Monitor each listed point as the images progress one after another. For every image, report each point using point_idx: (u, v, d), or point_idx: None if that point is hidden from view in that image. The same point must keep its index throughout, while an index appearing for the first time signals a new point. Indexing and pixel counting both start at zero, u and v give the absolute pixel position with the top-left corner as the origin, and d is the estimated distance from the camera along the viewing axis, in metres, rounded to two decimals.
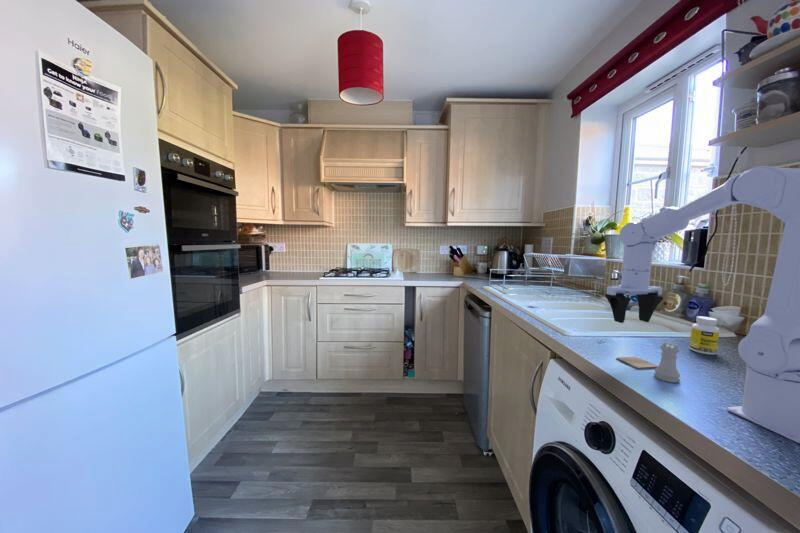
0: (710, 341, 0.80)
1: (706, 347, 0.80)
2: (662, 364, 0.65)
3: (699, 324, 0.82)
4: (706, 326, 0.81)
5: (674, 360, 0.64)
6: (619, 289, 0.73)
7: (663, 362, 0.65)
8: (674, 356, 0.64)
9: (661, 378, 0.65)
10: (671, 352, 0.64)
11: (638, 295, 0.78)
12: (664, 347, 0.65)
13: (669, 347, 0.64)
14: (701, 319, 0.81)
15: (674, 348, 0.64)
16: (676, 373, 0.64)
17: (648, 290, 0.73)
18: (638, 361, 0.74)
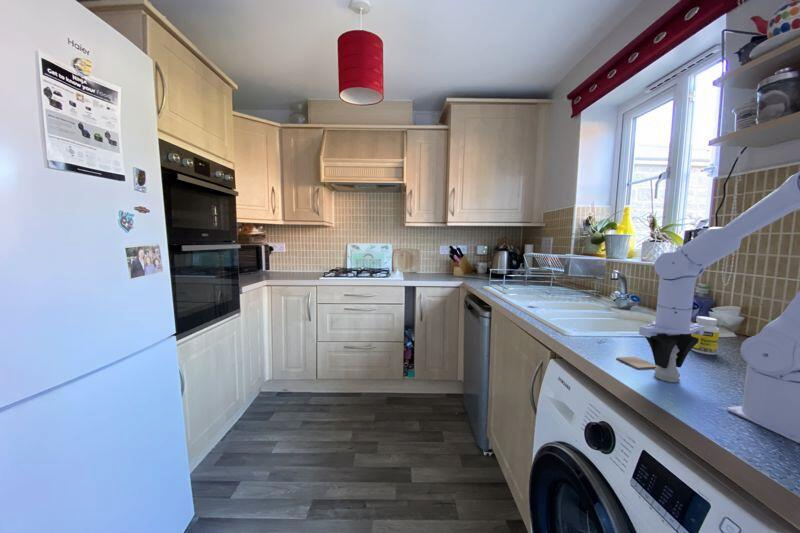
0: (710, 341, 0.80)
1: (706, 347, 0.80)
2: None
3: (699, 324, 0.82)
4: (706, 326, 0.81)
5: (674, 360, 0.64)
6: (655, 330, 0.63)
7: None
8: (674, 356, 0.64)
9: (661, 378, 0.65)
10: (671, 352, 0.64)
11: (667, 334, 0.67)
12: None
13: None
14: (701, 319, 0.81)
15: (674, 348, 0.64)
16: (676, 373, 0.64)
17: (689, 332, 0.62)
18: (638, 361, 0.74)
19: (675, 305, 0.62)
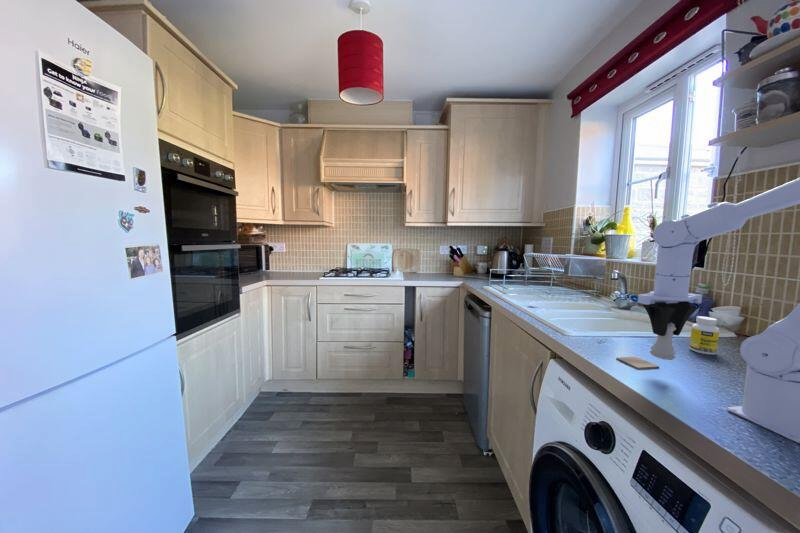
0: (710, 341, 0.80)
1: (706, 347, 0.80)
2: (659, 342, 0.66)
3: (699, 324, 0.82)
4: (706, 326, 0.81)
5: (671, 338, 0.65)
6: (653, 297, 0.63)
7: (660, 340, 0.66)
8: (671, 334, 0.65)
9: (658, 356, 0.66)
10: (668, 330, 0.65)
11: (666, 304, 0.68)
12: None
13: None
14: (701, 319, 0.81)
15: (671, 326, 0.65)
16: (672, 350, 0.65)
17: (688, 299, 0.63)
18: (638, 361, 0.74)
19: (673, 272, 0.63)
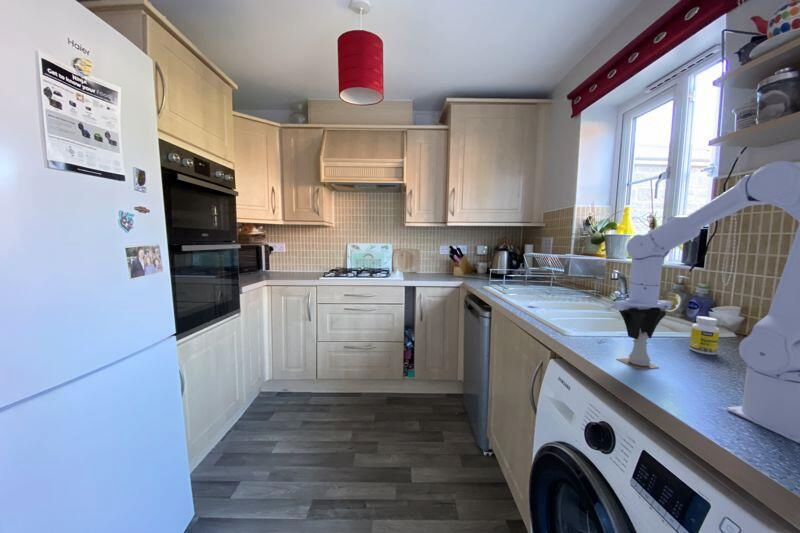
0: (710, 341, 0.80)
1: (706, 347, 0.80)
2: (635, 350, 0.73)
3: (699, 324, 0.82)
4: (706, 326, 0.81)
5: (645, 346, 0.72)
6: (627, 304, 0.70)
7: (636, 348, 0.73)
8: (645, 342, 0.72)
9: (635, 363, 0.72)
10: (642, 338, 0.72)
11: (640, 309, 0.75)
12: None
13: (640, 334, 0.72)
14: (701, 319, 0.81)
15: (644, 335, 0.72)
16: (647, 357, 0.72)
17: (657, 305, 0.70)
18: None
19: (643, 281, 0.70)
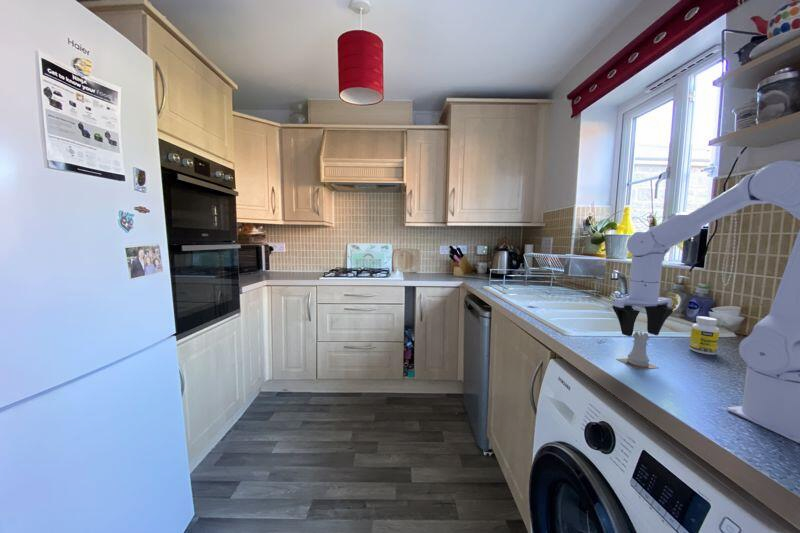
0: (710, 341, 0.80)
1: (706, 347, 0.80)
2: (635, 351, 0.73)
3: (699, 324, 0.82)
4: (706, 326, 0.81)
5: (645, 347, 0.72)
6: (627, 301, 0.70)
7: (635, 349, 0.73)
8: (645, 343, 0.72)
9: (634, 363, 0.72)
10: (643, 340, 0.71)
11: (646, 307, 0.75)
12: (637, 335, 0.72)
13: (641, 335, 0.72)
14: (701, 319, 0.81)
15: (645, 336, 0.71)
16: (646, 358, 0.72)
17: (657, 302, 0.70)
18: None
19: (643, 278, 0.70)
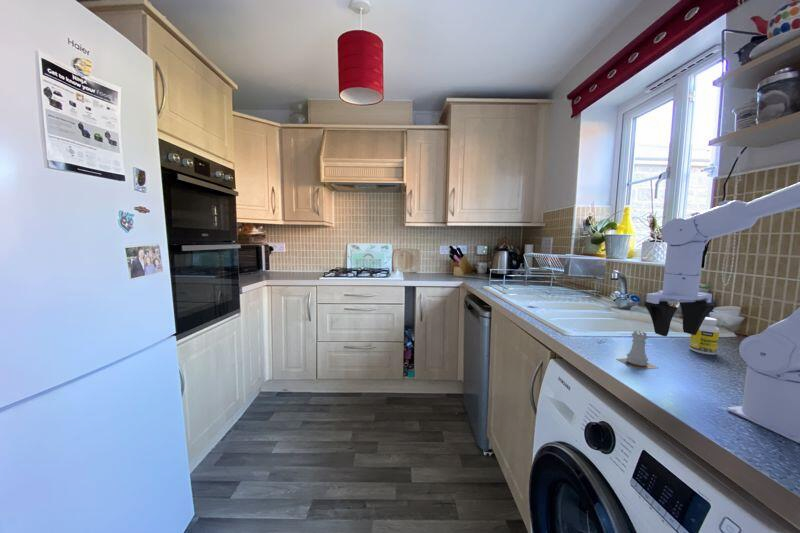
0: (710, 341, 0.80)
1: (706, 347, 0.80)
2: (634, 349, 0.73)
3: None
4: (706, 326, 0.81)
5: (644, 345, 0.72)
6: (663, 296, 0.62)
7: (635, 348, 0.73)
8: (644, 342, 0.72)
9: (633, 362, 0.72)
10: (642, 338, 0.72)
11: (682, 303, 0.67)
12: (636, 334, 0.73)
13: (640, 334, 0.72)
14: None
15: (644, 334, 0.72)
16: (645, 357, 0.72)
17: (698, 298, 0.62)
18: None
19: (682, 271, 0.62)
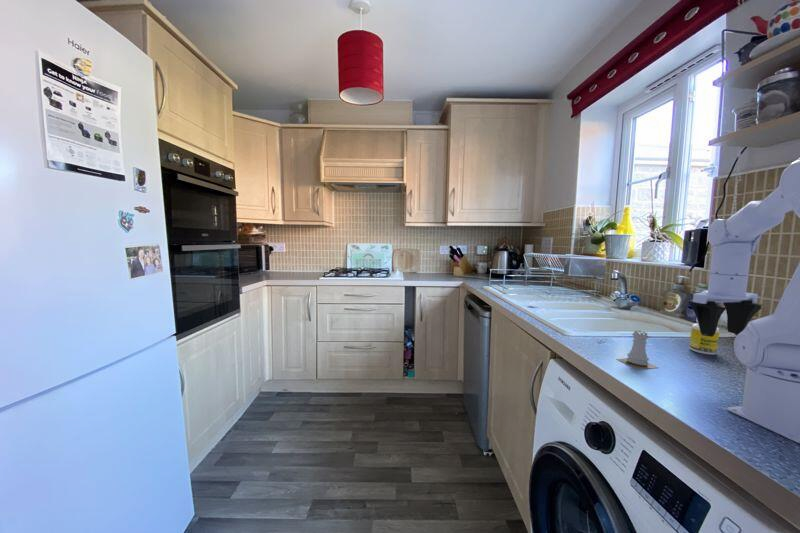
0: (710, 341, 0.80)
1: (706, 347, 0.80)
2: (635, 349, 0.73)
3: None
4: None
5: (644, 345, 0.72)
6: (711, 297, 0.63)
7: (636, 347, 0.73)
8: (645, 341, 0.72)
9: (635, 362, 0.72)
10: (643, 338, 0.72)
11: (726, 303, 0.68)
12: (637, 334, 0.73)
13: (641, 334, 0.72)
14: None
15: (645, 334, 0.72)
16: (646, 357, 0.72)
17: (746, 298, 0.62)
18: None
19: (718, 270, 0.64)
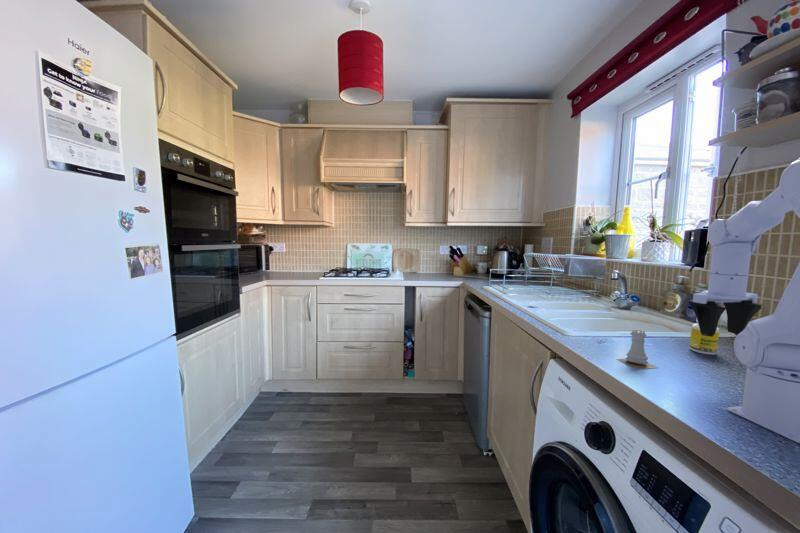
0: (710, 341, 0.80)
1: (706, 347, 0.80)
2: (635, 348, 0.73)
3: None
4: None
5: (643, 344, 0.73)
6: (711, 297, 0.63)
7: (635, 347, 0.73)
8: None
9: (636, 361, 0.72)
10: (642, 337, 0.73)
11: (726, 303, 0.68)
12: (636, 333, 0.73)
13: (640, 332, 0.73)
14: None
15: (644, 333, 0.73)
16: None
17: (746, 298, 0.62)
18: None
19: (718, 270, 0.64)
